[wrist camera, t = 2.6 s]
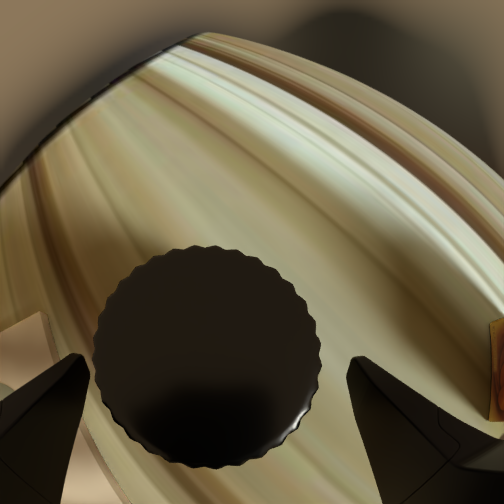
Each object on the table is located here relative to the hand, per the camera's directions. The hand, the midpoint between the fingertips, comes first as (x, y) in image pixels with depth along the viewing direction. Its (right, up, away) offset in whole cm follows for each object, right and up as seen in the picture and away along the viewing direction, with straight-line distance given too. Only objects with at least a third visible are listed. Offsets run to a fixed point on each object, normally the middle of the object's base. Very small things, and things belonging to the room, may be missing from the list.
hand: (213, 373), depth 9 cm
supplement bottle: (-1, -3, +8) cm, 8 cm away
